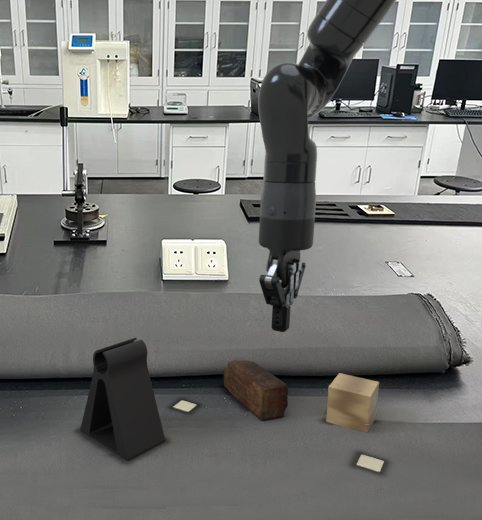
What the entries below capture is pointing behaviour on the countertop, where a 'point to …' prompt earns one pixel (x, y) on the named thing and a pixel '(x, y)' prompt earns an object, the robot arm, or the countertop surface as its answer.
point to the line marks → (363, 462)
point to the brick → (256, 389)
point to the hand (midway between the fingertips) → (280, 329)
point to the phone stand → (122, 401)
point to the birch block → (352, 402)
